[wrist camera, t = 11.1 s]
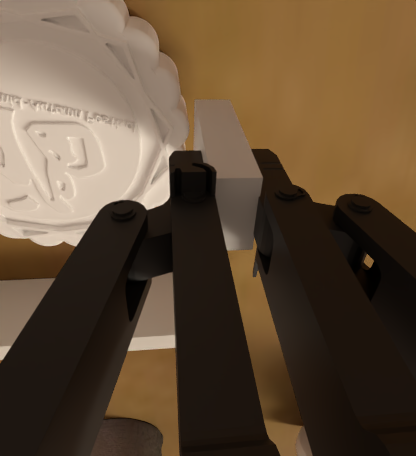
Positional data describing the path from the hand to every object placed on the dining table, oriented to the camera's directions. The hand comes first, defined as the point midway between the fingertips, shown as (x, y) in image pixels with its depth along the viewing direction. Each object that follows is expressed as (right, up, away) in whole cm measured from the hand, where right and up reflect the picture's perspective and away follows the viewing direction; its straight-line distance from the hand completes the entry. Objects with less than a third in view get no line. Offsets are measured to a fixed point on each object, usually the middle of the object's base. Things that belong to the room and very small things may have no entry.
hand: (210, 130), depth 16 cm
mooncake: (-7, +1, +2) cm, 8 cm away
